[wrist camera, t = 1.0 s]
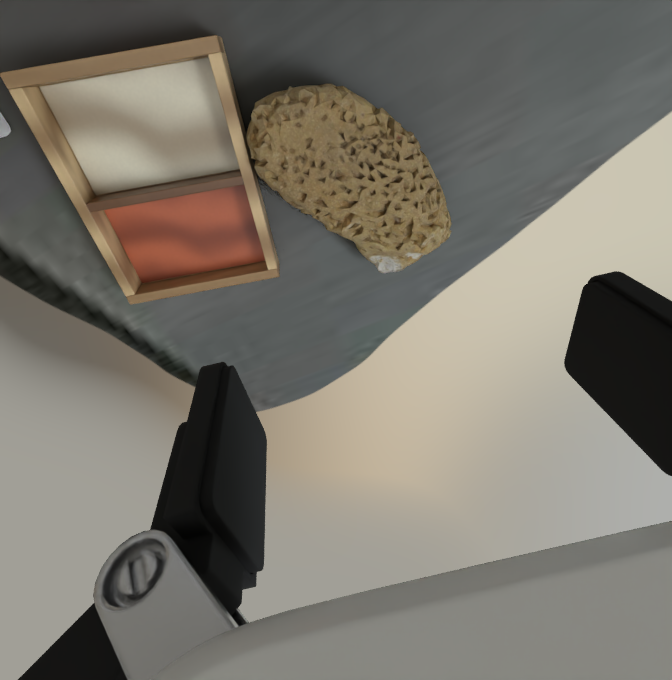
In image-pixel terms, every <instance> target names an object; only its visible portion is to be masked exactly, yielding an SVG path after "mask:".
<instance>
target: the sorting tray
mask: <svg viewBox="0 0 672 680" xmlns="http://www.w3.org/2000/svg"><path fill="white" fill-rule="evenodd" d="M0 76H1V78H2V80H3V82H4V83H5V85H6V87H7V89H9V92H10V93H11V95H12V97H13V99H14V100H15V102H16V104H17V106H18V107H19V109H20V111H21V113H22V115H23V116H24V118H25V120H26V122H27V123H28V125H29V127H30V129H31V130H32V132H33V134H34V136H35V137H36V139H37V141H38V143H39V144H40V146H41V148H42V150H43V151H44V153H45V155H46V157H47V159H48V160H49V162H50V164H51V166H52V167H53V169H54V171H55V173H56V174H57V176H58V178H59V180H60V181H61V183H62V185H63V187H64V188H65V190H66V192H67V194H68V195H69V197H70V199H71V201H72V203H73V204H74V206H75V208H76V210H77V211H78V213H79V215H80V217H81V218H82V220H83V222H84V224H85V225H86V227H87V229H88V231H89V232H90V234H91V236H92V238H93V239H94V241H95V243H96V245H97V247H98V248H99V250H100V252H101V254H102V255H103V257H104V259H105V261H106V262H107V264H108V266H109V268H110V269H111V271H112V273H113V275H114V276H115V278H116V280H117V282H118V283H119V285H120V287H121V289H122V291H123V292H124V294H125V296H126V298H127V299H128V301H129V303H130V304H136V303H141V302H147V301H152V300H157V299H163V298H168V297H173V296H179V295H184V294H190V293H195V292H200V291H206V290H211V289H216V288H222V287H227V286H232V285H238V284H243V283H249V282H254V281H259V280H265V279H270V278H275V277H279V261H278V257H277V253H276V249H275V245H274V241H273V237H272V233H271V229H270V225H269V222H268V218H267V214H266V210H265V206H264V202H263V198H262V194H261V190H260V186H259V182H258V178H257V175H256V171H255V167H254V163H253V159H251V152H250V148H249V146H248V145H247V140H246V131H245V128H244V124H243V120H242V116H241V112H240V108H239V104H238V100H237V96H236V92H235V88H234V84H233V81H232V77H231V73H230V69H229V65H228V61H227V57H226V53H225V49H224V45H223V41H222V38H221V37H219V36H217V35H213V36H207V37H202V38H196V39H190V40H184V41H179V42H173V43H167V44H162V45H156V46H150V47H144V48H139V49H133V50H127V51H122V52H116V53H110V54H104V55H99V56H93V57H87V58H82V59H76V60H70V61H64V62H59V63H53V64H47V65H42V66H36V67H30V68H24V69H19V70H13V71H7V72H2V73H0Z"/></svg>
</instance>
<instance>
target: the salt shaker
mask: <svg viewBox="0 0 672 680" xmlns="http://www.w3.org/2000/svg"><path fill="white" fill-rule="evenodd" d="M10 132H11V129H10V126H9V124H8V123H7V121H6V120H5V118H4V117H3V116H2V114H1V113H0V138H2V137H5V136H8V135H9V133H10Z"/></svg>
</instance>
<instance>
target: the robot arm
mask: <svg viewBox="0 0 672 680" xmlns="http://www.w3.org/2000/svg"><path fill="white" fill-rule="evenodd" d="M564 364H565V368H566V370H567V372H568V373H569V375H570V376H571V377H572V378H573V379H574V380H575V381H576V382H577V383H578V384H579V385H580V386H581V387H582V388H583V389H584V390H585V391H586V392H587V393H588V394H589V395H590V396H591V397H592V398H593V399H594V400H595V402H596V403H597V404H598V405H599V406H600V407H601V408H602V409H603V410H604V411H605V412H606V413H607V414H608V415H609V416H610V417H611V418H612V419H613V420H614V421H615V422H616V423H617V424H618V425H619V426H620V427H621V428H622V429H623V430H624V431H625V432H626V433H627V435H628V436H629V437H631V439H632V440H633V441H634V442H635V443H636V444H637V445H638V446H639V447H640V448H641V449H642V450H643V451H644V452H645V453H646V454H647V455H648V456H649V457H650V458H651V459H652V460H653V461H654V463H656V464H657V466H658V467H659V468H660V469H661V470H662V471H664V472H665V473H666V474H668V475H670V476H672V301H670V300H668V299H667V298H665V297H663V296H662V295H660V294H658V293H656V292H655V291H653V290H651V289H650V288H648V287H646V286H644V285H643V284H641V283H639V282H637V281H636V280H634V279H632V278H631V277H629V276H627V275H625V274H624V273H621V272H611V273H607V274H602V275H598V276H594V277H592V278H591V279H590V280H589V281H588V284H586V285H585V286H584V287H583V290H582V294H581V297H580V302H579V305H578V309H577V313H576V317H575V321H574V325H573V329H572V333H571V337H570V341H569V345H568V349H567V353H566V357H565V362H564ZM266 450H267V440H266V434H265V431H264V428H263V426H262V424H261V422H260V420H259V418H258V416H257V414H256V411H255V409H254V407H253V405H252V403H251V401H250V399H249V397H248V395H247V392H246V390H245V388H244V386H243V384H242V382H241V380H240V378H239V375H238V373H237V371H236V369H235V367H234V366H227V365H226V363H225V362H220V363H216V364H212V365H207V366H203V367H202V368H201V369H200V372H199V376H198V380H197V384H196V388H195V392H194V396H193V400H192V404H191V408H190V412H189V417H188V420H187V422H184V423H182V424H181V425H180V426H179V428H178V430H177V434H176V437H175V441H174V445H173V448H172V452H171V456H170V459H169V463H168V467H167V470H166V474H165V478H164V481H163V485H162V489H161V492H160V496H159V500H158V503H157V507H156V511H155V515H154V518H153V522H152V525H151V529H150V530H149V531H143V532H141V533H138V534H136V535H134V536H132V537H130V538H129V539H128V540H126V541H125V542H123V543H122V544H121V545H120V546H119V547H118V548H117V549H116V550H115V551H114V552H113V553H112V554H111V555H110V556H109V558H108V559H107V560H106V562H105V563H104V565H103V567H102V568H101V570H100V572H99V575H98V577H97V580H96V582H95V588H94V594H93V597H94V602H95V603H94V604H93V605H92V606H91V607H90V608H89V609H88V610H87V611H86V612H85V613H84V614H83V615H82V616H81V617H80V618H79V619H78V620H77V621H76V622H75V623H74V624H73V625H72V626H71V627H70V628H69V629H68V630H67V631H66V632H65V633H64V634H63V635H62V636H61V637H60V638H59V639H58V640H57V641H56V642H55V643H54V644H53V645H52V646H51V647H50V648H49V649H48V650H47V651H46V652H45V653H44V654H43V655H42V656H41V657H40V658H39V659H38V660H37V661H36V662H35V663H34V664H33V665H32V666H31V667H30V668H29V669H28V670H27V671H26V672H25V673H24V674H23V675H22V676H21V677H20V678H19V679H18V680H672V521H669V522H665V523H660V524H656V525H651V526H647V527H642V528H638V529H633V530H629V531H625V532H620V533H616V534H612V535H607V536H603V537H598V538H594V539H589V540H585V541H581V542H576V543H572V544H568V545H563V546H559V547H555V548H550V549H545V550H541V551H537V552H532V553H528V554H524V555H519V556H515V557H511V558H506V559H502V560H497V561H493V562H489V563H484V564H480V565H476V566H471V567H467V568H463V569H459V570H454V571H450V572H446V573H441V574H437V575H433V576H429V577H424V578H420V579H416V580H411V581H407V582H403V583H399V584H394V585H390V586H386V587H381V588H377V589H373V590H369V591H365V592H360V593H357V594H353V595H349V596H344V597H341V598H337V599H333V600H329V601H325V602H321V603H317V604H313V605H309V606H305V607H301V608H297V609H293V610H289V611H285V612H282V613H279V614H276V615H273V616H270V617H266V618H263V619H260V620H256V621H254V622H250V623H249V622H248V621H247V620H246V618H245V617H244V616H243V614H242V613H241V612H240V610H239V609H238V607H239V606H240V604H241V602H242V590H243V589H247V588H252V587H256V574H257V572H258V571H261V570H262V569H263V566H264V538H265V534H264V533H265V495H266Z"/></svg>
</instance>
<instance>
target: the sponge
mask: <svg viewBox="0 0 672 680" xmlns="http://www.w3.org/2000/svg"><path fill="white" fill-rule="evenodd" d="M251 118H252V119H251V121H250V123H249V126H248V130H247V134H246V140H247V145H248V146H249V148H250V152H251V159H254V160H256V161H255V165H254V166H255V170H256V172H257V174H258V176H259V177H260V178H261V179H262V180H264V181H265V182H266V183H267V185H268V186H269V187H270V188H271V189H272V190H275V191H277V192H278V193H279V195H280V196H281V197H282V198H283V199H284V200H285V201H287V202H288V203H289V204H291V205H292V206H294V207H295V208H298V209H301V213H305V214H311V215H312V217H313V218H315V219H317V220H319V221H320V222H322V223H323V224H324V225H325V227H326V229H327V230H329V231H331V232H334V233H337V234H339V235H340V236H342V237H345V238H347V239H349V240H352V241H353V242H354V243H355V244H356V247H357V248H358V250H359V251H360V252H361V253H362V254H363V256H364V257H365V258H366V259H367V260H369V261H370V262H372V263H373V264H374V265H375V266H376V268H377V269H378V271H379V272H381V273H388V272H397V271H401V270H403V269H404V268H405V267H407V266H409V265H410V264H413V263H414V262H416V261H418V260H419V259H420V258H421V257H422V256H423V255H425V254H429V253H430V252H432V251H433V250H435V249H436V248H438V247H439V246H440V244H441V243H443V242H445V241H446V240H447V239H448V238H449V236H450V234H451V231H450V230H449V229H450V227H451V218H450V214H449V211H448V210H447V208H446V200H445V196H444V194H443V191H442V188H441V185H440V183H439V181H438V179H437V178H436V176H435V174H434V172H433V170H432V168H431V166H430V163H429V161H428V159H427V158H426V156H425V155H424V153H423V152H422V151H420V150H419V149H420V148H421V147H420V144H419V142H418V141H417V139H416V138H415V137H414V134H413V133H412V132H411V131H410V132H407V131H406V130H405V129H404V128H403V127H401V124H400V123H398V122H397V121H395V120H394V119H393V118H392V117H391V115H389V114H388V113H387V112H386V111H385V110H384V109H383V108H379V109H377V108H376V107H375V106H373V105H372V104H371V103H369V102H368V101H367V100H365V99H364V98H362V97H360V96H358V95H356V94H355V93H353V92H351V91H350V90H348V89H347V88H345V87H344V86H338V87H336V86H335V85H333V84H322V85H305V86H299V87H290V86H289V89H288V90H284V91H278V92H274V93H272V94H270V95H268V96H266V97H264V98H262V99H261V100H259V101H257V102H255V106H254V110H253V111H252V114H251Z"/></svg>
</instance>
